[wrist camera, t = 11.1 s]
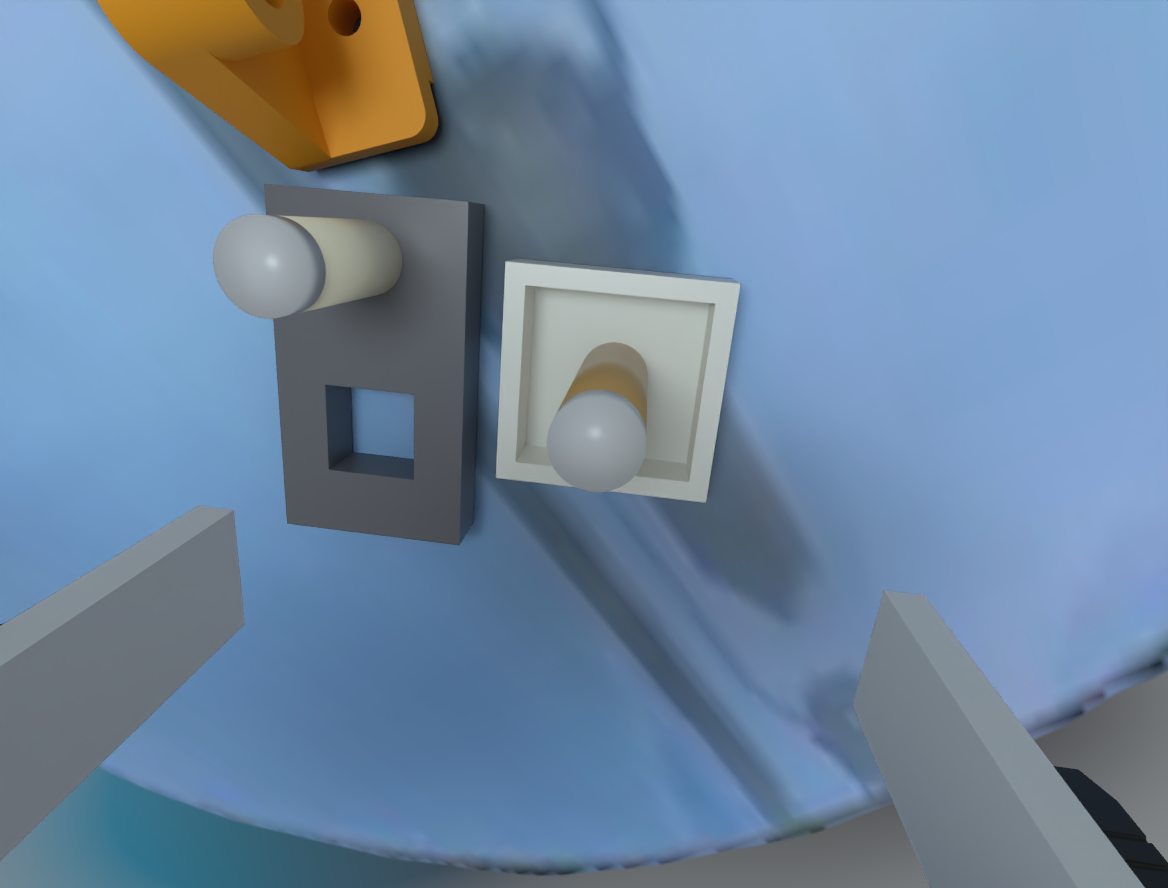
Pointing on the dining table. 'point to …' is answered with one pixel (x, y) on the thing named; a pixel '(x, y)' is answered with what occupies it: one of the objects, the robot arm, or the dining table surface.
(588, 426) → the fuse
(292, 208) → the fuse block
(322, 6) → the bracket
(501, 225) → the dining table surface
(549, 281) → the parts tray
